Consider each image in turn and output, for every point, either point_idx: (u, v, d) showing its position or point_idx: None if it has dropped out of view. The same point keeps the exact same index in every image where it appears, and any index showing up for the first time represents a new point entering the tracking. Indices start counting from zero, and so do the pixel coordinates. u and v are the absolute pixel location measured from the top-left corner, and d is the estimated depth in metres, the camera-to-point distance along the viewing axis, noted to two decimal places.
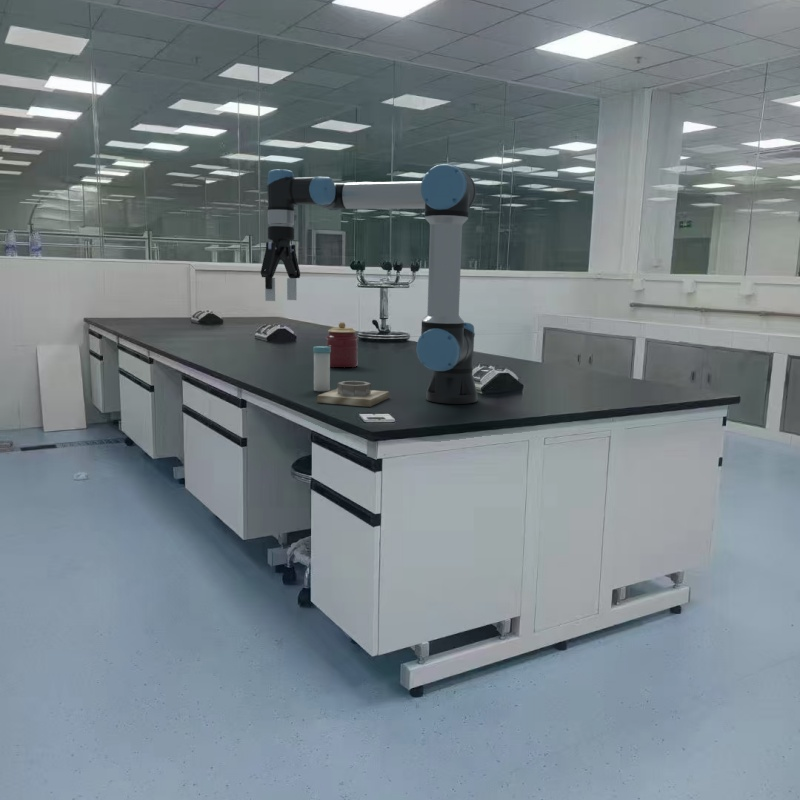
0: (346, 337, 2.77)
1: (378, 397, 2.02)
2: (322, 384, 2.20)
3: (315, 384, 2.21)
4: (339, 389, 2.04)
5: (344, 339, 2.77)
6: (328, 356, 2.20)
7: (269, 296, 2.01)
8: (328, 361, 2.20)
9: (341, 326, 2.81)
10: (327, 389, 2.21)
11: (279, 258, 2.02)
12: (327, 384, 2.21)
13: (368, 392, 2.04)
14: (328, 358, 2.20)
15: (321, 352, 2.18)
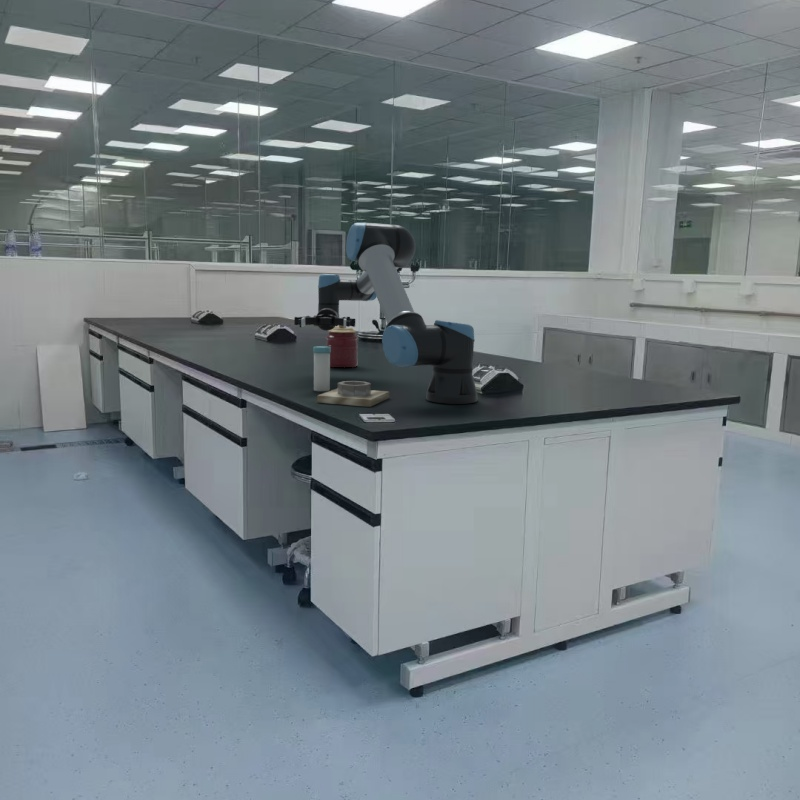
0: (346, 337, 2.77)
1: (378, 397, 2.02)
2: (322, 384, 2.20)
3: (315, 384, 2.21)
4: (339, 389, 2.04)
5: (344, 339, 2.77)
6: (328, 356, 2.20)
7: None
8: (328, 361, 2.20)
9: (341, 326, 2.81)
10: (327, 389, 2.21)
11: (314, 316, 2.40)
12: (327, 384, 2.21)
13: (368, 392, 2.04)
14: (328, 358, 2.20)
15: (321, 352, 2.18)
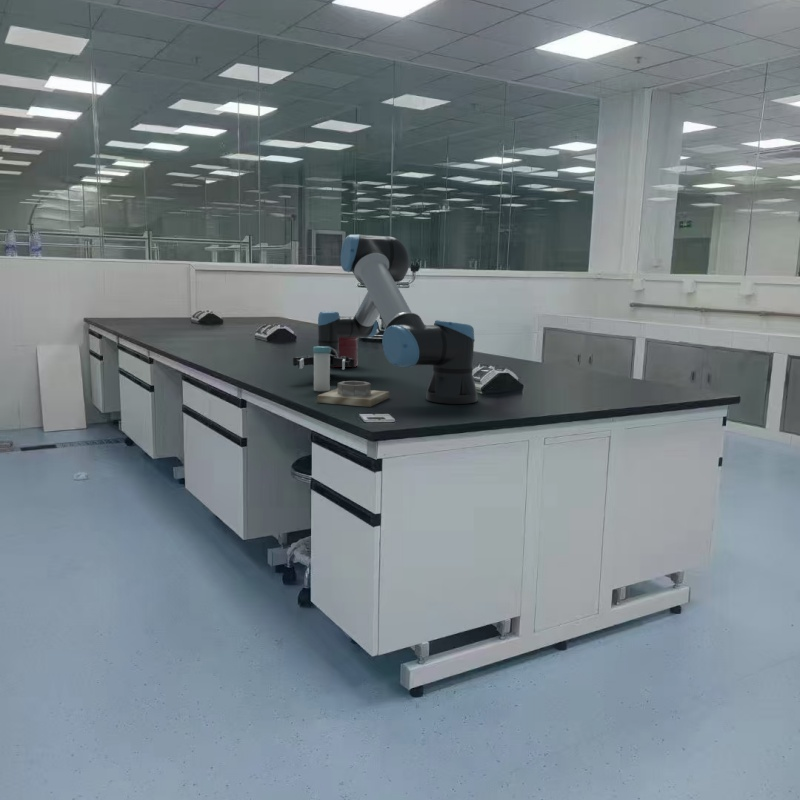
0: (346, 337, 2.77)
1: (378, 397, 2.02)
2: (322, 384, 2.20)
3: (315, 384, 2.21)
4: (339, 389, 2.04)
5: (344, 339, 2.77)
6: (328, 356, 2.20)
7: None
8: (328, 361, 2.20)
9: None
10: (327, 389, 2.21)
11: (313, 356, 2.39)
12: (327, 384, 2.21)
13: (368, 392, 2.04)
14: (328, 358, 2.20)
15: (321, 352, 2.18)
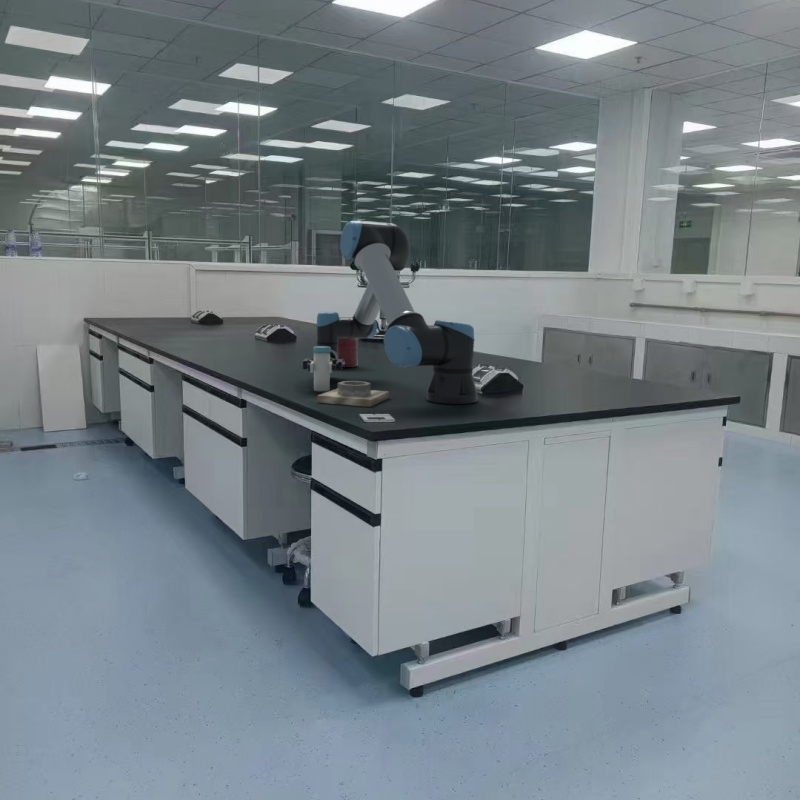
0: None
1: (378, 397, 2.02)
2: (322, 384, 2.20)
3: (315, 384, 2.21)
4: (339, 389, 2.04)
5: (344, 339, 2.77)
6: (328, 356, 2.20)
7: None
8: (328, 361, 2.20)
9: None
10: (327, 389, 2.21)
11: None
12: (327, 384, 2.21)
13: (368, 392, 2.04)
14: (328, 358, 2.20)
15: (321, 352, 2.18)
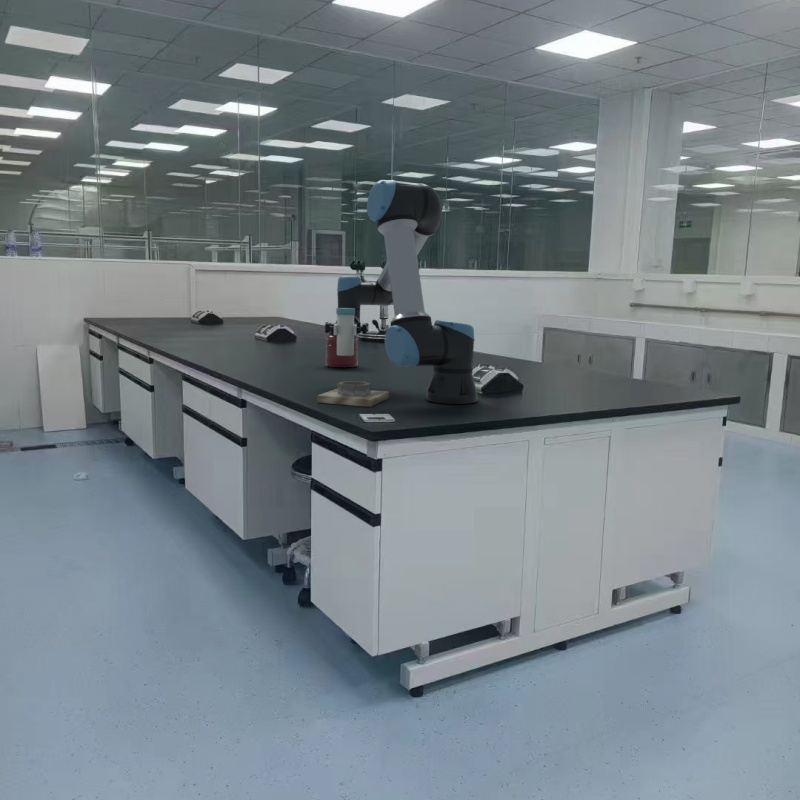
0: None
1: (378, 397, 2.02)
2: (346, 348, 2.06)
3: (338, 348, 2.07)
4: (339, 389, 2.04)
5: None
6: (352, 318, 2.06)
7: None
8: (352, 323, 2.06)
9: None
10: (351, 353, 2.07)
11: None
12: (351, 348, 2.07)
13: (368, 392, 2.04)
14: (352, 320, 2.06)
15: (345, 313, 2.04)
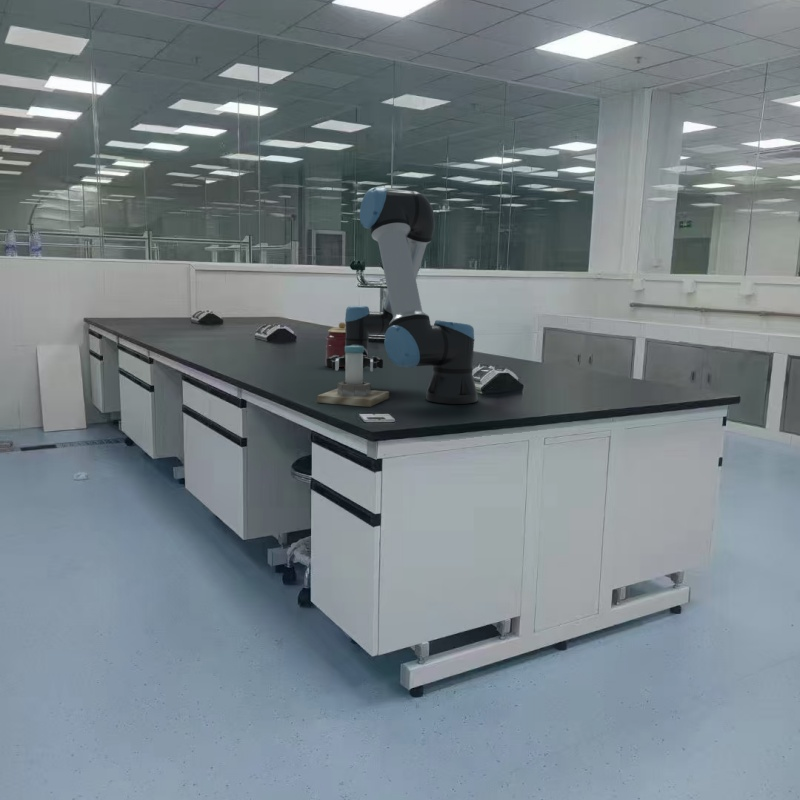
0: None
1: (378, 397, 2.02)
2: None
3: None
4: (339, 389, 2.04)
5: (344, 339, 2.77)
6: (361, 356, 2.03)
7: None
8: (361, 362, 2.03)
9: (341, 326, 2.81)
10: None
11: (342, 356, 2.12)
12: None
13: (368, 392, 2.04)
14: (361, 358, 2.03)
15: (354, 352, 2.01)
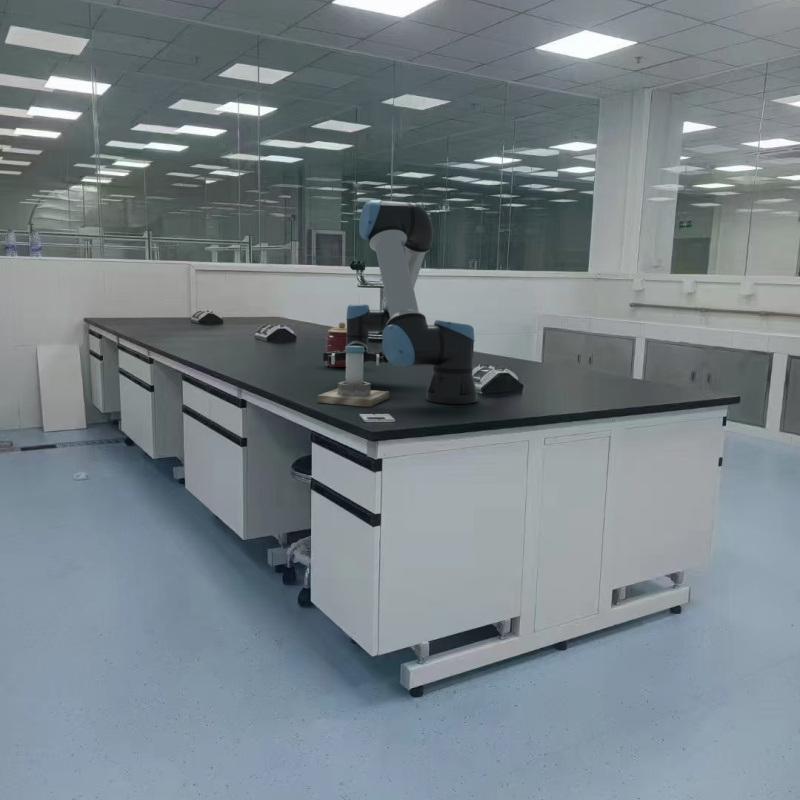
0: None
1: (378, 397, 2.02)
2: None
3: None
4: (339, 389, 2.04)
5: (344, 339, 2.77)
6: (362, 356, 2.03)
7: None
8: (361, 362, 2.03)
9: (341, 326, 2.81)
10: None
11: (344, 351, 2.25)
12: None
13: (368, 392, 2.04)
14: (362, 359, 2.03)
15: (354, 352, 2.01)
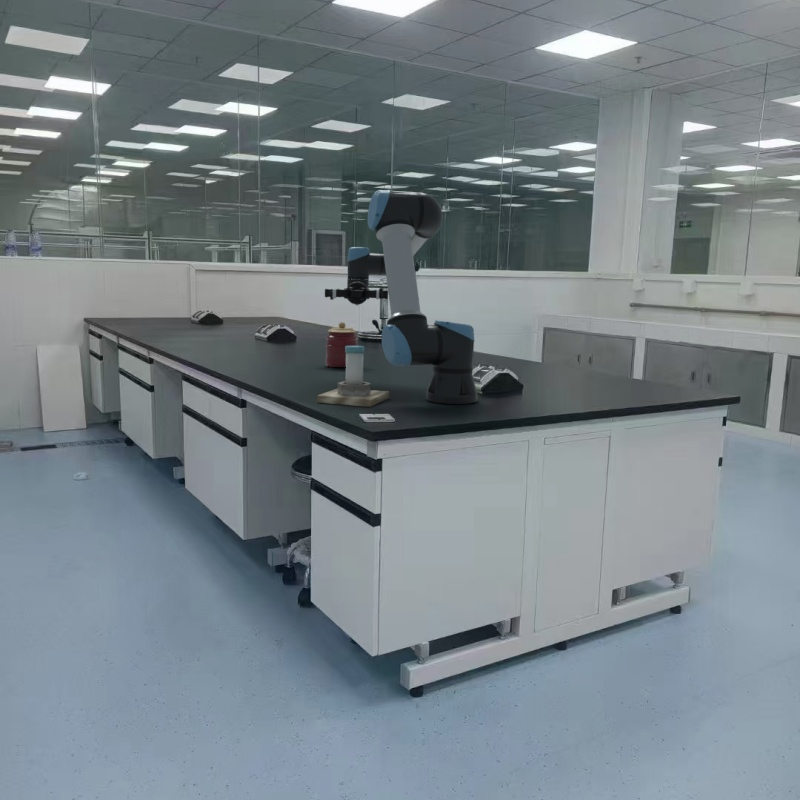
0: (346, 337, 2.77)
1: (378, 397, 2.02)
2: None
3: None
4: (339, 389, 2.04)
5: (344, 339, 2.77)
6: (361, 356, 2.03)
7: (332, 294, 2.21)
8: (361, 362, 2.03)
9: (341, 326, 2.81)
10: None
11: (345, 289, 2.31)
12: None
13: (368, 392, 2.04)
14: (361, 358, 2.03)
15: (354, 352, 2.01)
